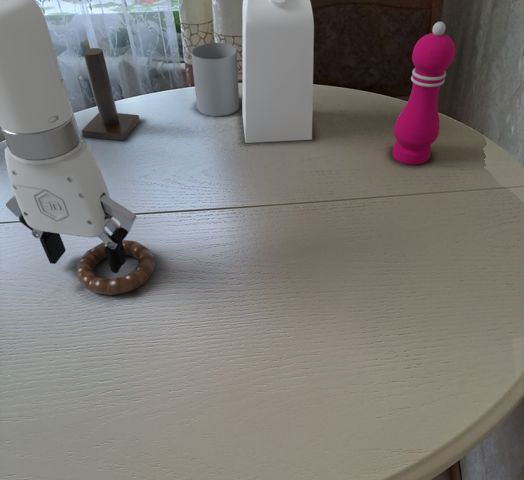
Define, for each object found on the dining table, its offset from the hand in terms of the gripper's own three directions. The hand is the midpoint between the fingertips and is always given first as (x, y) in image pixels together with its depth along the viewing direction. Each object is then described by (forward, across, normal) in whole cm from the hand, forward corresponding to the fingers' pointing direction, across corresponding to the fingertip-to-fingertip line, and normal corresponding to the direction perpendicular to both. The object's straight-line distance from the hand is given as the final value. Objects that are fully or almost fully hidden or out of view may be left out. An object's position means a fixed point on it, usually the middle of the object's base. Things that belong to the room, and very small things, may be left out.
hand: (88, 261), depth 67 cm
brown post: (+1, -14, +38) cm, 41 cm away
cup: (+1, +3, +51) cm, 51 cm away
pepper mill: (+1, +41, +39) cm, 57 cm away
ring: (0, +4, 0) cm, 4 cm away
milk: (+1, +16, +45) cm, 48 cm away
